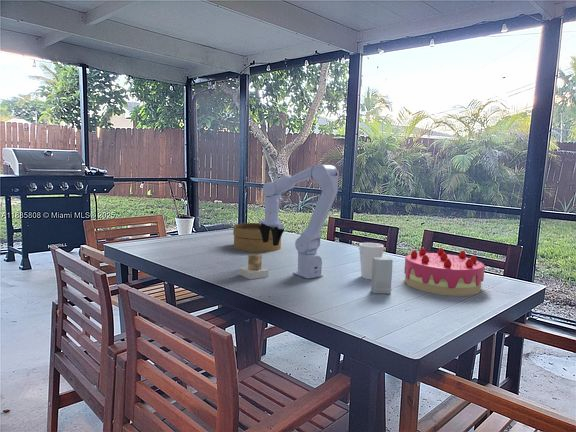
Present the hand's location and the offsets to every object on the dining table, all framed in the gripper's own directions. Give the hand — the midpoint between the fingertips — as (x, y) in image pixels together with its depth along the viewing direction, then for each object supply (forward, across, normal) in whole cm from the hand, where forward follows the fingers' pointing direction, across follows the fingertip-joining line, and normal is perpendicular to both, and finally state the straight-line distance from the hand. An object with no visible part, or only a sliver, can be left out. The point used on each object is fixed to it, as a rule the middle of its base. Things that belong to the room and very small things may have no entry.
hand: (270, 243), depth 175 cm
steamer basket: (+10, +38, -18) cm, 43 cm away
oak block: (+7, -8, +13) cm, 17 cm away
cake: (+10, -53, -43) cm, 69 cm away
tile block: (+10, -8, +13) cm, 18 cm away
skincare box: (+10, -48, -14) cm, 51 cm away
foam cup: (+10, -32, -26) cm, 42 cm away
